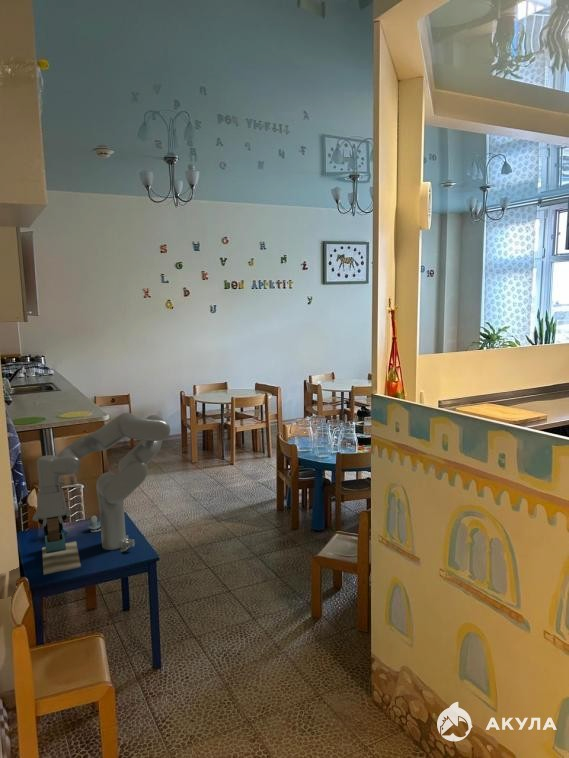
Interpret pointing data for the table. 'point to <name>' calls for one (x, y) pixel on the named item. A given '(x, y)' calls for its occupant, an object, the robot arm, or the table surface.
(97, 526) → the pacifier
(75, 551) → the base board
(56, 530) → the rail end
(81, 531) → the table surface
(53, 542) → the cup bracket
